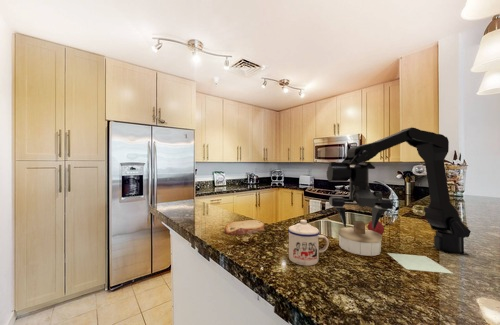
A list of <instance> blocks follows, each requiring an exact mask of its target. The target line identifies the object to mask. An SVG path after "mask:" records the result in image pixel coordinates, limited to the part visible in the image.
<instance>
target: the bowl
mask: <svg viewBox="0 0 500 325" xmlns="http://www.w3.org/2000/svg"><path fill="white" fill-rule="evenodd" d="M338 245H339V247H340V248H341V249H342V250H344V251H346V252H348V253H350V254H355V255H358V256H368V257H369V256H370V257H374V256H378V255H380V254H381V252H382V241H381V242H378V243H363V242H356V241H352V240H348V239H345V238H343V237H341V236H340V235H339V234H338Z"/></svg>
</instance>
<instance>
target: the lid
mask: <svg viewBox="0 0 500 325" xmlns="http://www.w3.org/2000/svg"><path fill="white" fill-rule="evenodd" d="M339 235H340V236H341V237H343V238H345V239H348V240H352V241H356V242H363V243H378V242H381V243H382V241H383V234H382V235H381V234H379V233H377V232H374V231H371V230H368V229H367V228H366V222H364V221H361V220H360V221H359V220H353V227H351V226H350V227H347V226H346V227H340V228H339V229H338V236H339Z"/></svg>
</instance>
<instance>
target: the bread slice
mask: <svg viewBox="0 0 500 325" xmlns="http://www.w3.org/2000/svg"><path fill="white" fill-rule="evenodd" d="M264 227H265V228H266V226H265V223H264V222H262V221H260V220H257V219H247V220H239V221H234V222H233V221H232V222H229V223H228V224H227V225H225V228H224V234H225V235H226V236H247V235H251V234H256V233H259V232H261V231H263V230H264V229H265V228H264ZM258 231H259V232H258Z"/></svg>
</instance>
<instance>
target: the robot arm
mask: <svg viewBox="0 0 500 325" xmlns="http://www.w3.org/2000/svg"><path fill="white" fill-rule="evenodd" d="M449 142H450V141H449V139H448V137H447V136H445V135H444V134H441V133H436V132H432V131H427V130H422V129H419V128H416V127H413V126H412V127H408V128H405V129H401V130H400V131H397V132H396V133H393V134H391V135H388V136H386V137H383V138H380V139H378V140H376V141H373V142H370V143H366V144H361V145H356V146H352V147H350V148H348V151H347V155H346V156H345V158H344V159H343V160H342V162H337V161H329V163H328V164H329V165H328V167H327V170H326V178H327V181H328V182H333V183H334V182H336V183H337V182H341V183H342V182H343V183H344V182H345V183H347V182H348V180H349V184H348V187H349V195H348V196H349V197H348V198H344V197H342V196H335V195H334V196H330V197H329V199H328V204H329V205H330V206H332V207H334V209H335V210H337V212H338V214H339V216H340V219H341V222H342V224H343V228H345V227H347V219H346V209H347V208H346V207H344V206H346V205H348V206H349V205H353V206H354V205H355V206H358V207H361V208H364V207H367V208H368V207H370V208H371V221H372V227H373V229H375V228H376V226H377V223H378V221H379V220H380V219H381V217H382V215H383V214H384V213H385V212H389V210H393V209H394V203H393V201H392V200H391V199H388V198H383V193H382V191H379V190H377V191H376V190H374V191H371V186H370V184H369V179H370V178H369V170H374V169H376V166H374V165H373V164H372V163H371V161H370V160H371V159H373V158H375V157H376V156H377V155H379V154H380V153H381V152H384V151H386V150H389V149H390V148H393V147H396V146H398V145H401V144H403V143H407V145H409V146H411V147H413V148H415V149H416V151H417V154H418V156H419V157H420V158H421V159H422V160H423V161H424V166H425V173H426V180H427V185H428V192H429V193H428V194H429V198H430V202H429V204H428V206H423V210H424V219H426V221H427V223H428V224H429V226H430V228H431V230H433V231H435V234H434V236H433V240H434V242H433V243H434V245H432V247H433V248H435V249H437V250H438V251H440V252H443V253H445V254H450V255H463V256H464V255H466V256H469V253H466V252H465V241H464V240H465V238H469V237H470V235H471V230H470V229H469V228H468V227H467V226H466V225H465V224H464V223H463V222H462V220H461V217H460V214H459V212H458V210H457V208H455V206H454V205H453V204H452V203H451V198H450V192H449V186H448V185H449V184H448V179H447V172H446V166H445V165H446V164H445V158H446V157H447V155H448V154H449V149H450V148H449V145H450V143H449ZM379 222H380V221H379Z"/></svg>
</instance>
